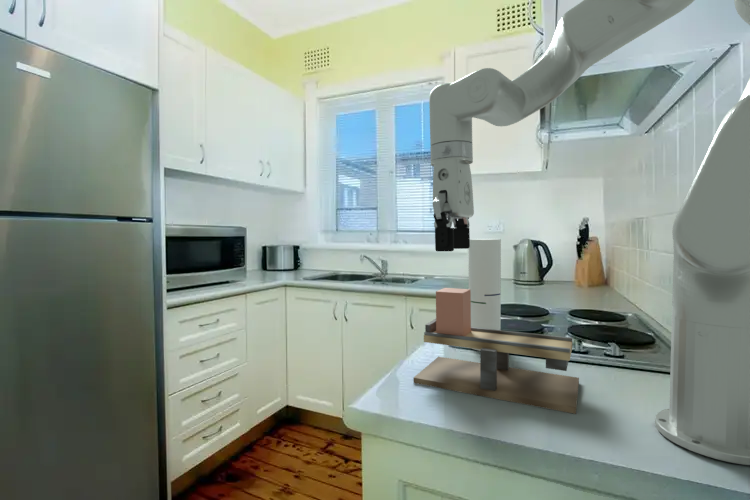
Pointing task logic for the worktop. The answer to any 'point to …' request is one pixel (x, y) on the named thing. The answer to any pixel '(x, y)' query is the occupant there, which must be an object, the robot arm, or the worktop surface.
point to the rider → (453, 311)
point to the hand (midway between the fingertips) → (453, 249)
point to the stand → (502, 381)
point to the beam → (509, 343)
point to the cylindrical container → (485, 283)
